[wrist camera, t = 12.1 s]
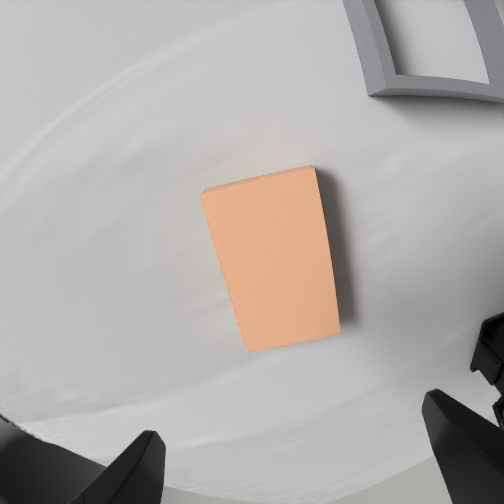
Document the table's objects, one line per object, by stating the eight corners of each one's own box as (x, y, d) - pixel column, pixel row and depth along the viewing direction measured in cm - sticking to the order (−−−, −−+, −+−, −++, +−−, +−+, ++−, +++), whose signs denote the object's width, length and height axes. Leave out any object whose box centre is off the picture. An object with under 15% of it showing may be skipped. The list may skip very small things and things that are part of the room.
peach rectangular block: (333, 314, 22) (307, 165, 18) (340, 333, 19) (314, 167, 16) (248, 332, 22) (206, 188, 19) (247, 352, 20) (199, 194, 16)
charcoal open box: (457, -26, 11) (474, -38, 8) (499, 103, 15) (523, 101, 12) (322, -51, 12) (330, -72, 9) (368, 95, 16) (386, 87, 13)
